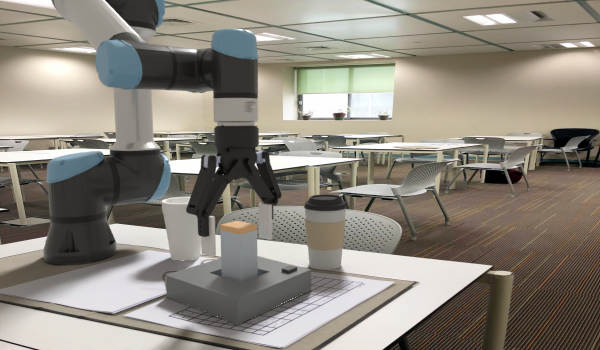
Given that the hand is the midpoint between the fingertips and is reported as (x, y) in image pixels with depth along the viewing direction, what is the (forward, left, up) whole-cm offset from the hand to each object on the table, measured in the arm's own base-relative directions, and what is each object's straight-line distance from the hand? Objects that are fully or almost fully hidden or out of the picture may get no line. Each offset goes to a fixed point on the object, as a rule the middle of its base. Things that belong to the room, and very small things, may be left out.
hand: (238, 246), depth 82 cm
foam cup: (-26, +8, -9) cm, 29 cm away
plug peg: (0, 0, -8) cm, 8 cm away
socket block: (0, 0, -9) cm, 9 cm away
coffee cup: (+2, +23, -9) cm, 25 cm away
